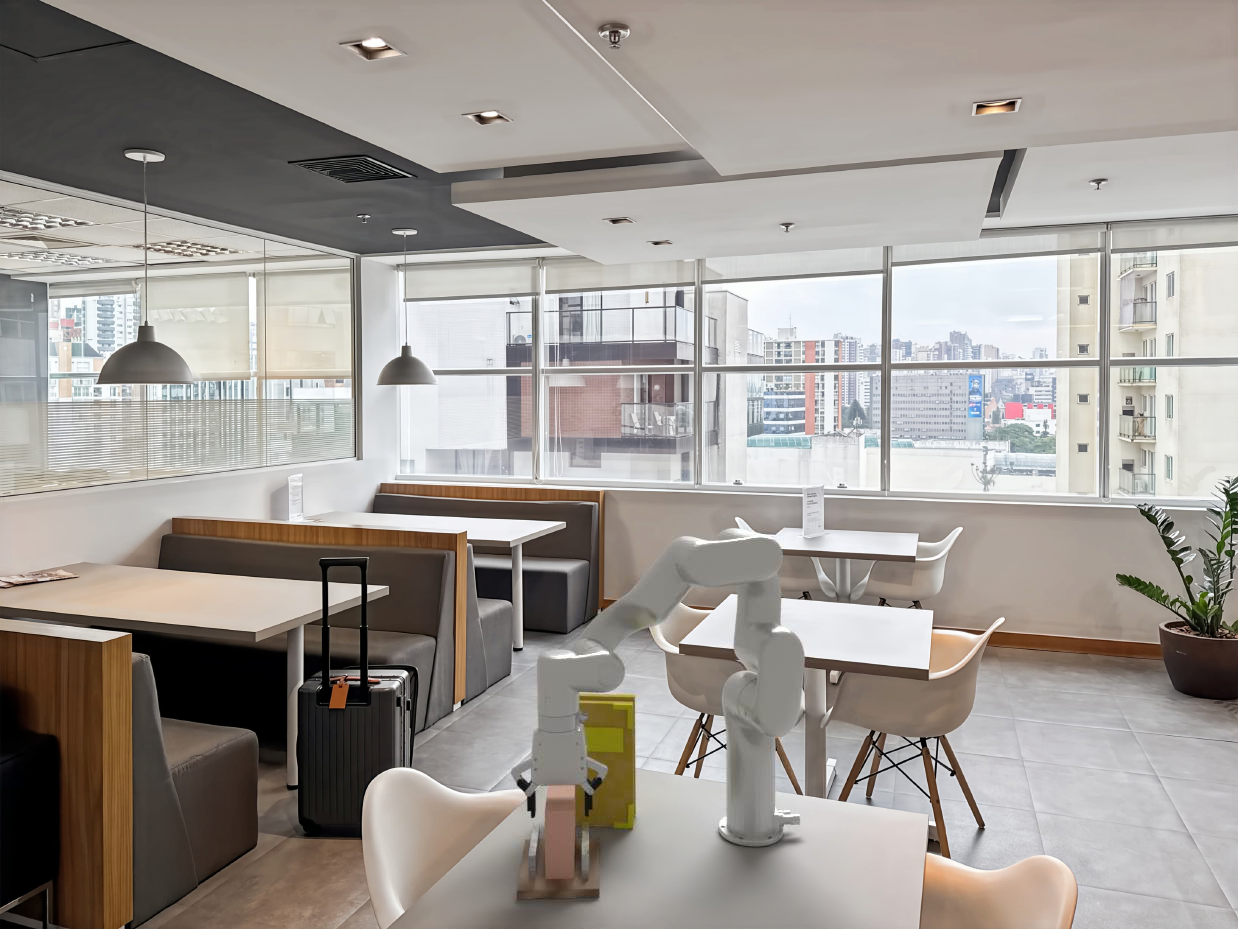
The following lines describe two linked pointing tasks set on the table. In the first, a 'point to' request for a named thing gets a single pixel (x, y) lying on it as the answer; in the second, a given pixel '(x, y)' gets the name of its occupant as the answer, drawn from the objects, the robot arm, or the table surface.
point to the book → (609, 760)
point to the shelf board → (560, 886)
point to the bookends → (535, 850)
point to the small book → (560, 832)
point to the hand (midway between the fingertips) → (560, 814)
